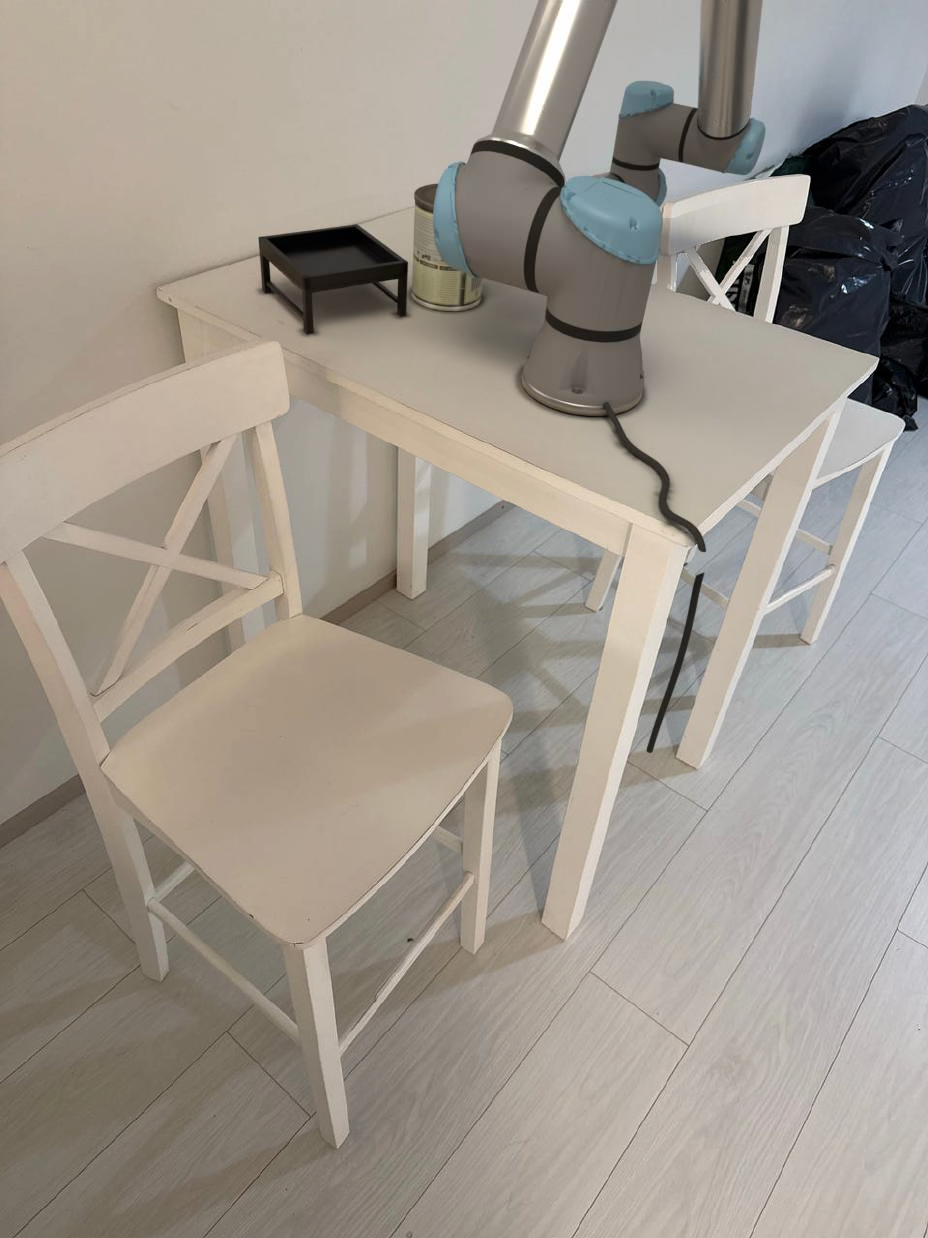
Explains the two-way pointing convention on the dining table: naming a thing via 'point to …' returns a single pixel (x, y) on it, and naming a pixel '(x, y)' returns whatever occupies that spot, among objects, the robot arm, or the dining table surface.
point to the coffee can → (437, 264)
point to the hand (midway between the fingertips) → (489, 227)
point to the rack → (331, 265)
